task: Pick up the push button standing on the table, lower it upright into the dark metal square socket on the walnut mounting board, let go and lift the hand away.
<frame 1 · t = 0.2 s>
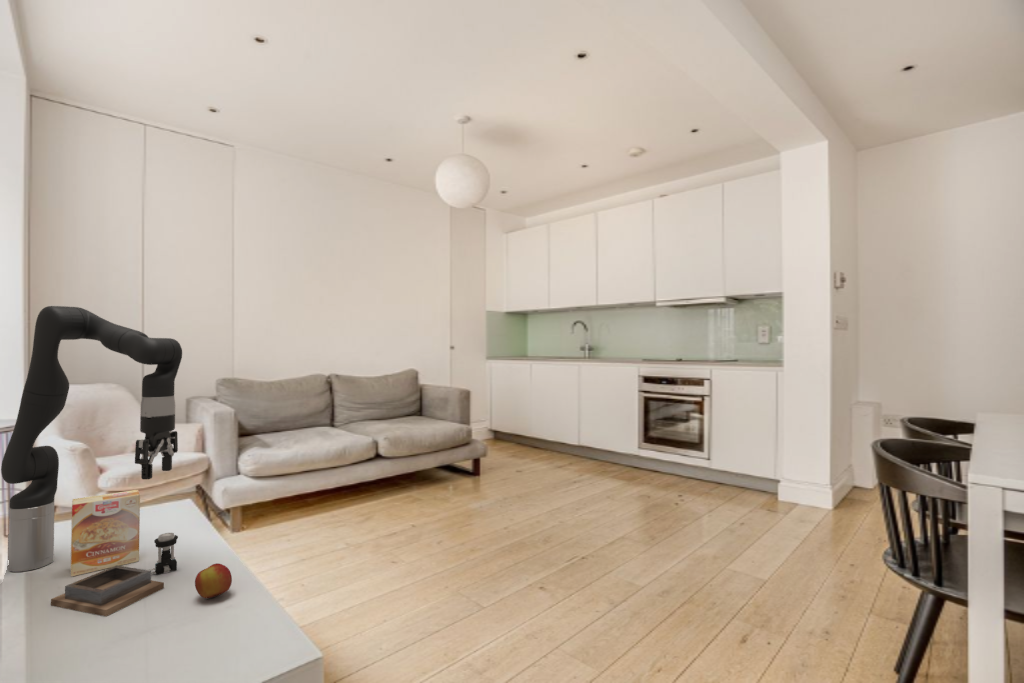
hand: (157, 474, 132), 28 cm above the table, tool pointing down, fingers open, 8 cm apart
mounting board: (109, 596, 123), on the table
push button: (163, 572, 137), on the table
socket: (109, 584, 123), on the mounting board, point 2 cm above the table
apple: (213, 597, 123), on the table
coffeecake box: (105, 565, 142), on the table
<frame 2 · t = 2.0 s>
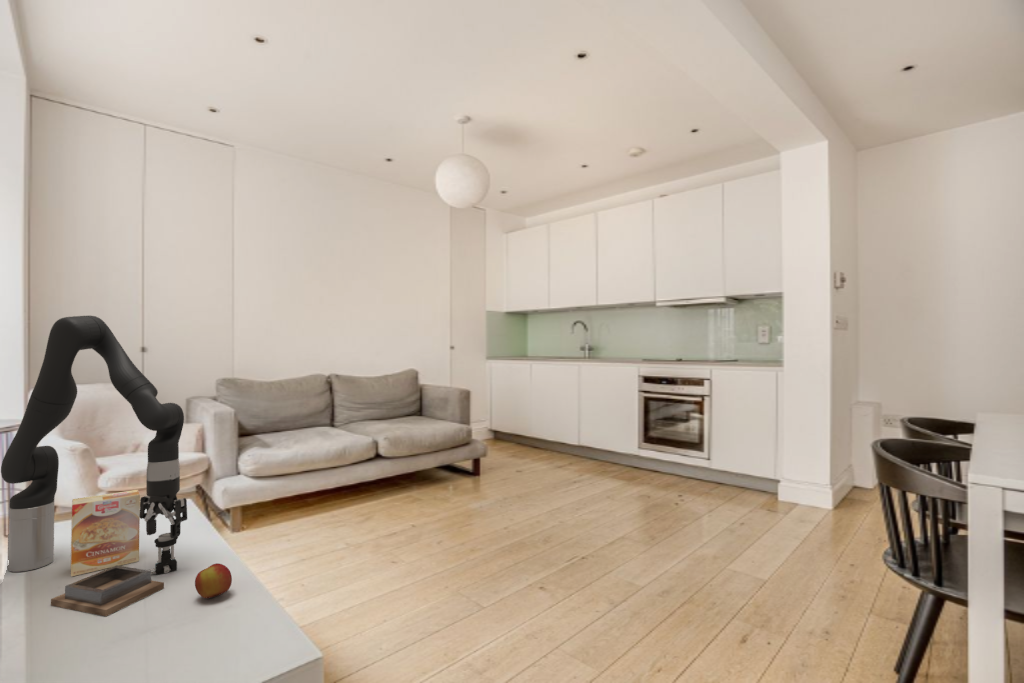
hand: (163, 535, 137), 10 cm above the table, tool pointing down, fingers open, 8 cm apart
nothing on the table moved.
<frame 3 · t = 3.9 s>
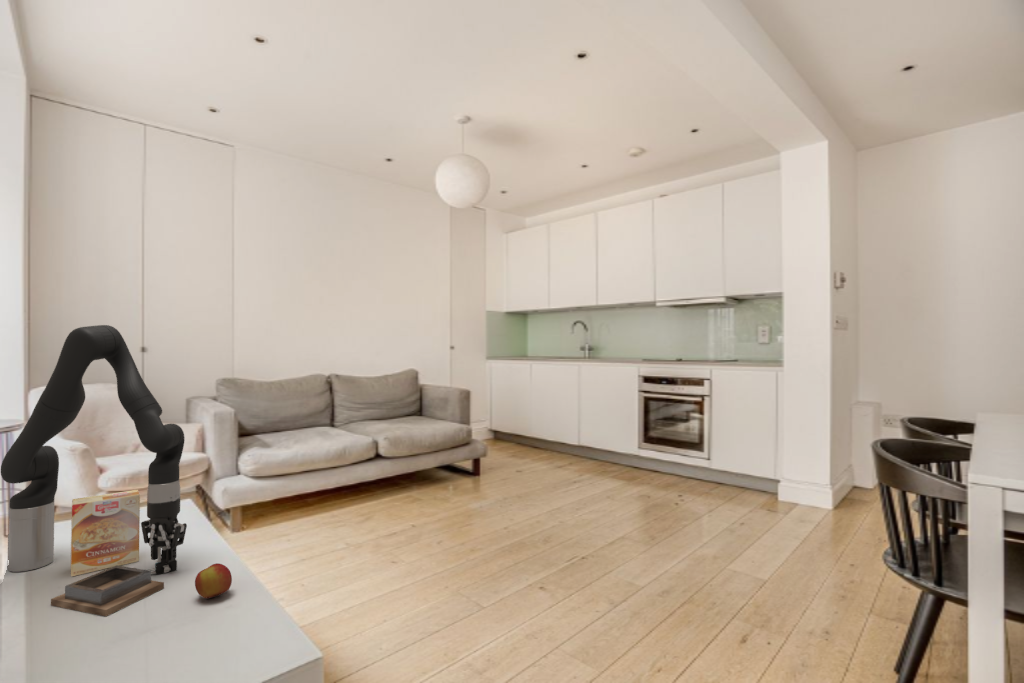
hand: (163, 559, 137), 3 cm above the table, tool pointing down, fingers closed on push button, 4 cm apart
push button: (163, 572, 137), on the table, touching gripper
everything else where it was.
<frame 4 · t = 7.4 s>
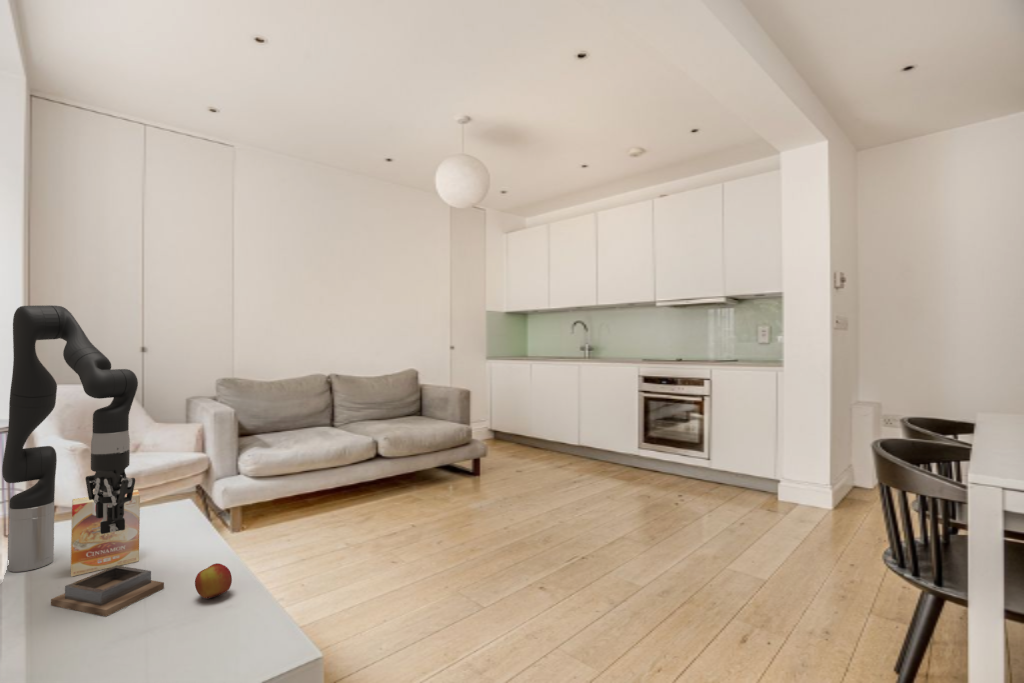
hand: (109, 518, 124), 19 cm above the table, tool pointing down, fingers closed on push button, 4 cm apart
push button: (109, 532, 124), point 16 cm above the table, touching gripper
everything else where it was.
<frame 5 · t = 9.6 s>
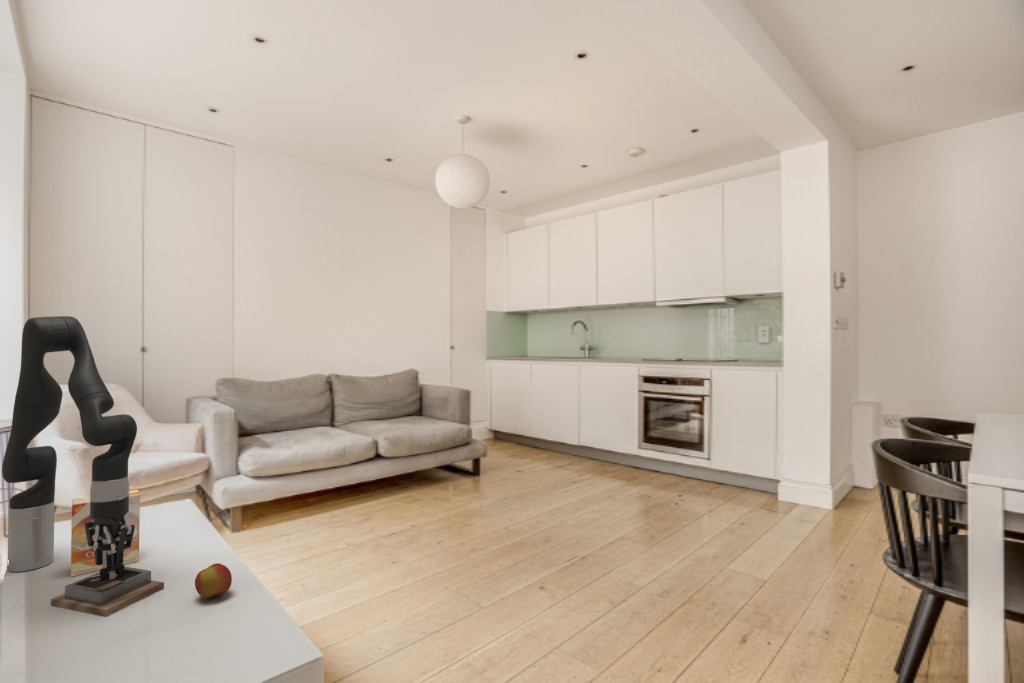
hand: (109, 564, 124), 8 cm above the table, tool pointing down, fingers closed on push button, 4 cm apart
push button: (108, 579, 123), point 4 cm above the table, touching gripper
everything else where it was.
when the fingers open (6 cm above the table, at t = 11.1 s): push button drops 1 cm, resting on mounting board.
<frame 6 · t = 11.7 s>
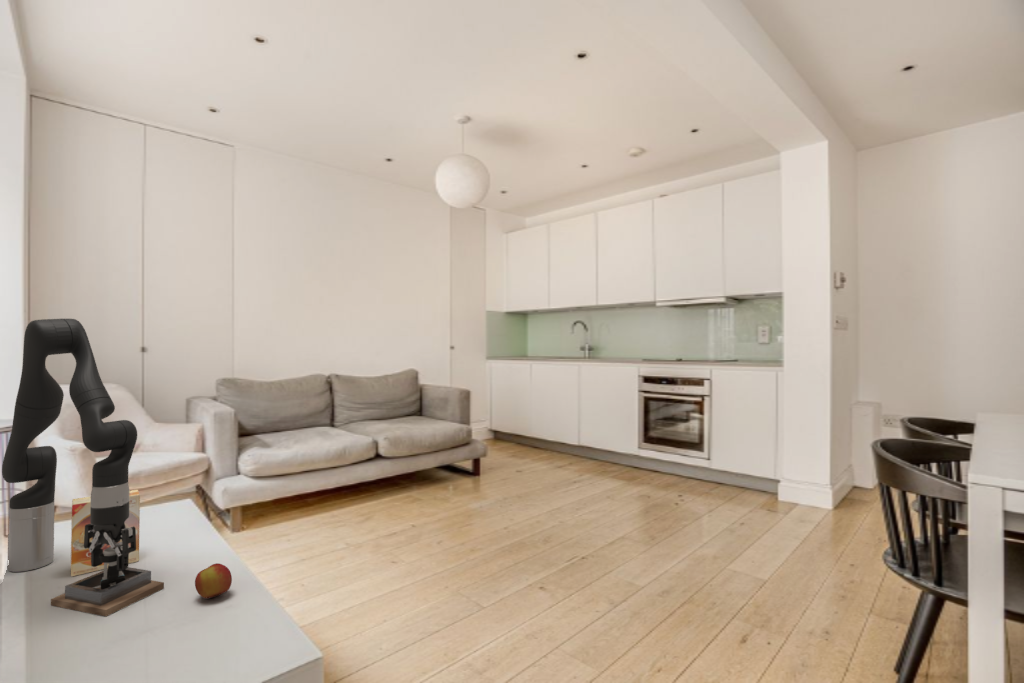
hand: (109, 567, 124), 7 cm above the table, tool pointing down, fingers open, 8 cm apart
push button: (109, 590, 124), point 1 cm above the table, touching mounting board
everything else where it was.
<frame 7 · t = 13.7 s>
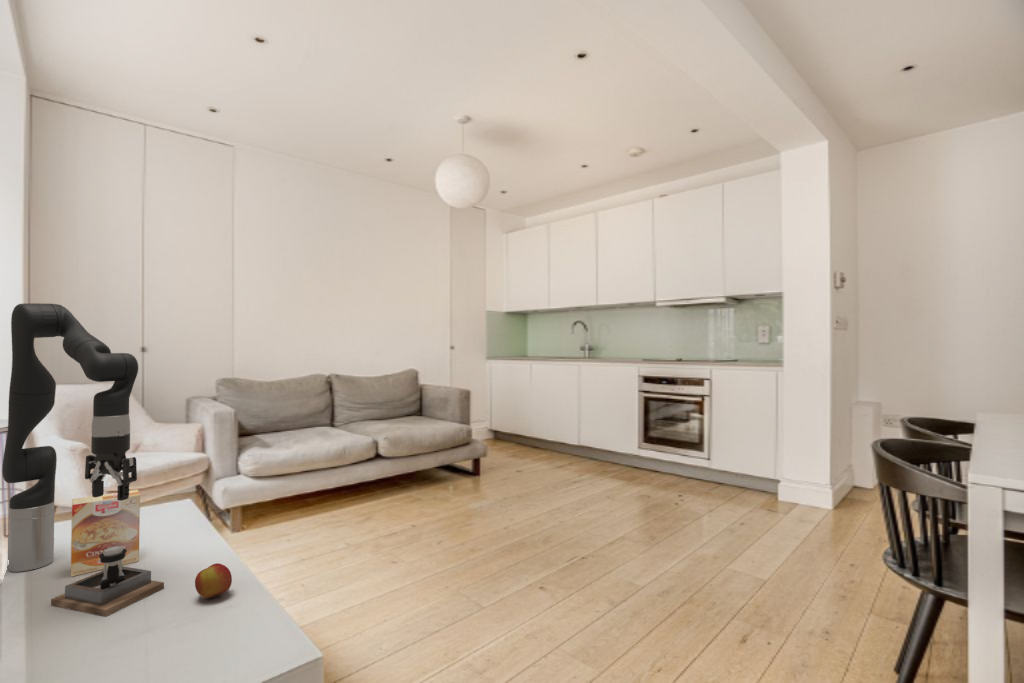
hand: (110, 498, 124), 24 cm above the table, tool pointing down, fingers open, 8 cm apart
nothing on the table moved.
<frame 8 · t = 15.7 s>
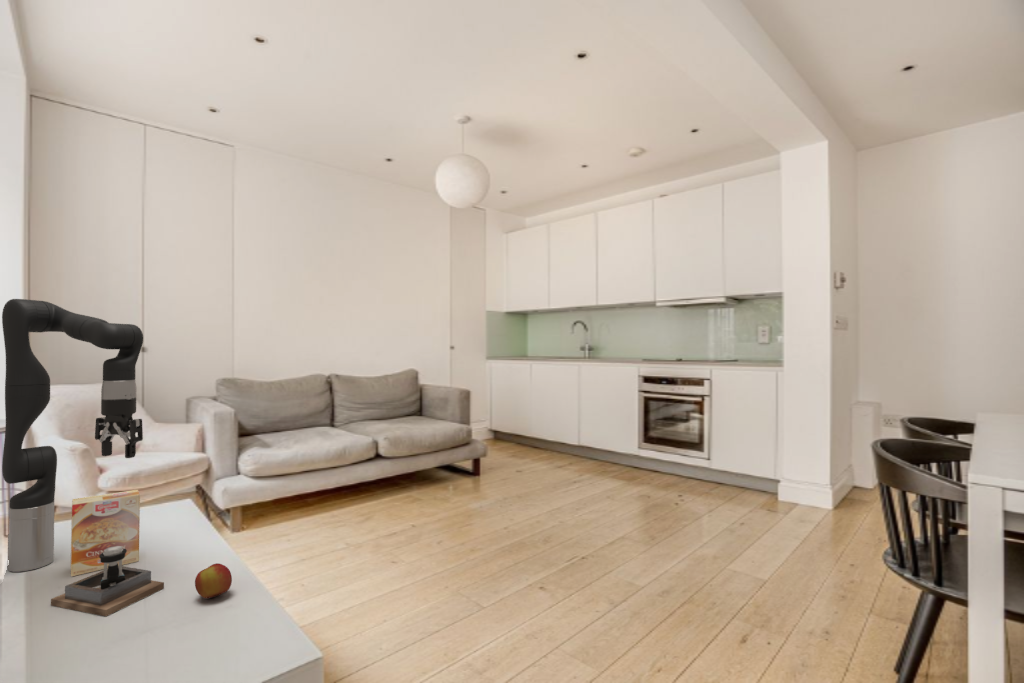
hand: (118, 456, 135), 32 cm above the table, tool pointing down, fingers open, 8 cm apart
nothing on the table moved.
at the end: push button 0.3 cm off-centre on the socket, point 1.3 cm above the socket's base; push button tilted 0°; the gripper is holding nothing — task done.
